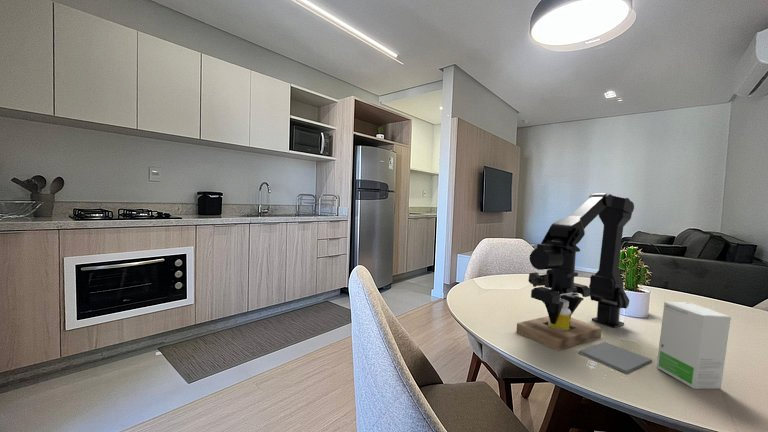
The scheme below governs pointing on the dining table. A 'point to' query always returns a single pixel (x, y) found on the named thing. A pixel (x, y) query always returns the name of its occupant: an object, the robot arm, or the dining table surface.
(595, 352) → the rubber mat
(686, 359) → the skincare box
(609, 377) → the dining table surface
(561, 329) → the supplement bottle
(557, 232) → the robot arm
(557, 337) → the wooden block with hole
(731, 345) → the dining table surface
